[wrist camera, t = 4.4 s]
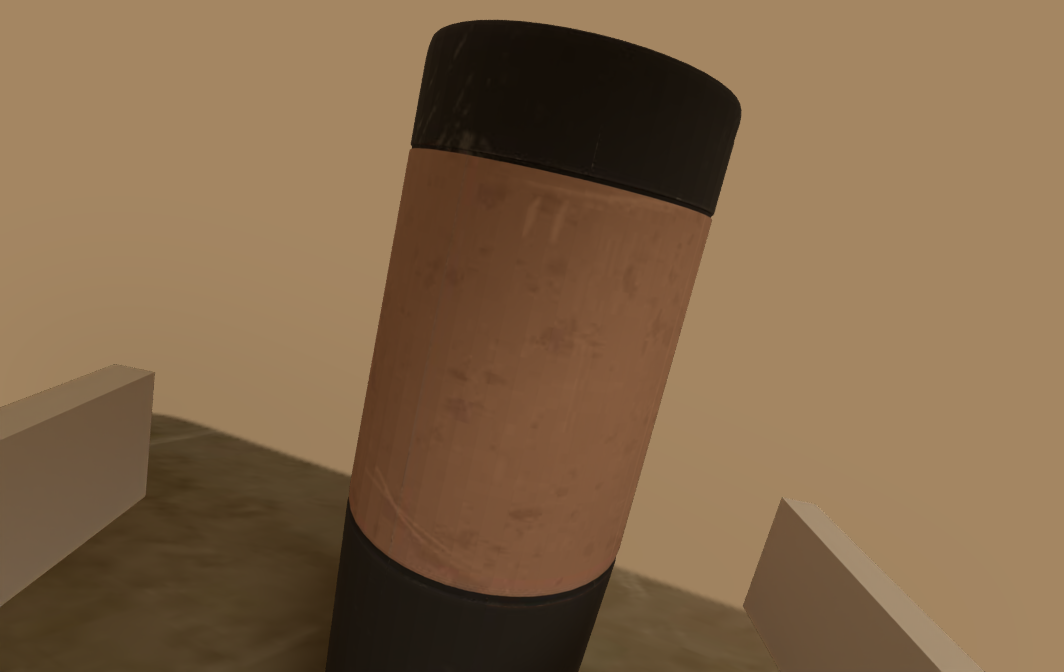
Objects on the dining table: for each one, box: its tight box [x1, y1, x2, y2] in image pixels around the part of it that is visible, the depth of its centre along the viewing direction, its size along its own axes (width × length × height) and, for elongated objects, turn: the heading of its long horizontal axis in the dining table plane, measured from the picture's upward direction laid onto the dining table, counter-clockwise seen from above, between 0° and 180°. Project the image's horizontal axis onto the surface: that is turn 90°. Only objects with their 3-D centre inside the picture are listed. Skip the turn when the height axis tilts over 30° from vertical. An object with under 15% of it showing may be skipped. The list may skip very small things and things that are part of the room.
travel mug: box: [325, 20, 741, 672], centre depth 15 cm, size 8×8×20 cm
